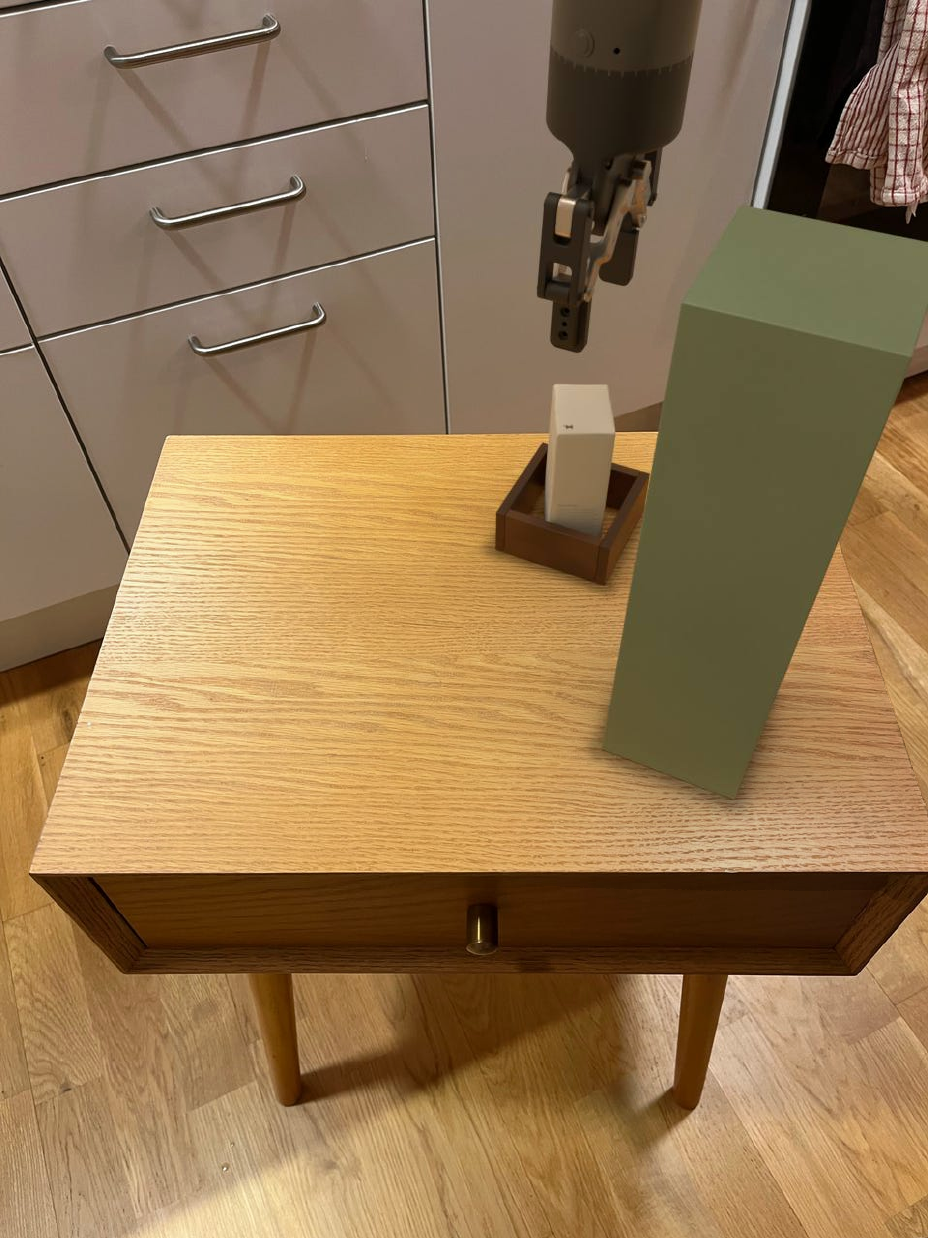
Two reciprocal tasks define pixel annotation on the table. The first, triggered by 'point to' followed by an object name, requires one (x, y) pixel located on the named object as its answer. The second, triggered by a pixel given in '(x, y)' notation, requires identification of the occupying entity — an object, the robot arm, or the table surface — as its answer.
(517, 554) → the holder
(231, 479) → the table surface
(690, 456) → the pedestal
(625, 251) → the robot arm
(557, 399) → the cosmetic box
